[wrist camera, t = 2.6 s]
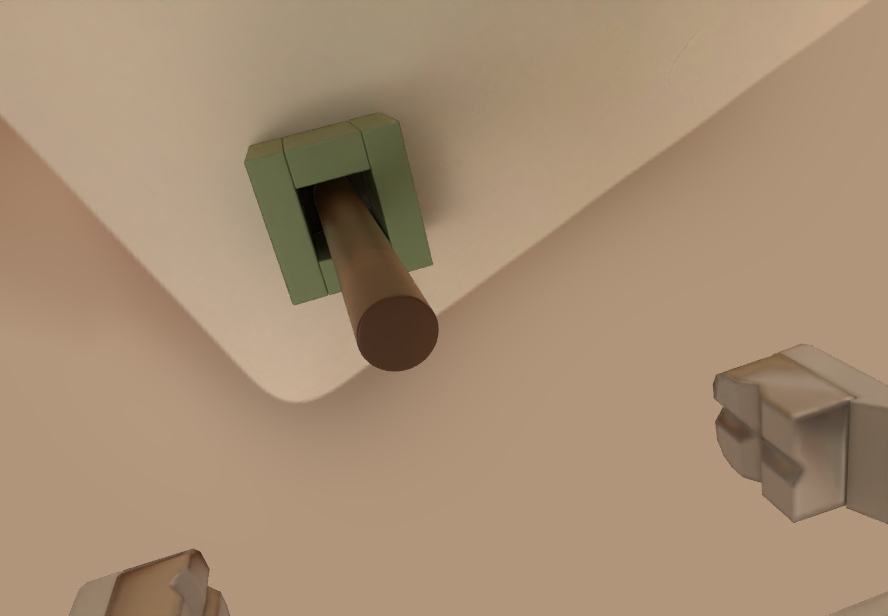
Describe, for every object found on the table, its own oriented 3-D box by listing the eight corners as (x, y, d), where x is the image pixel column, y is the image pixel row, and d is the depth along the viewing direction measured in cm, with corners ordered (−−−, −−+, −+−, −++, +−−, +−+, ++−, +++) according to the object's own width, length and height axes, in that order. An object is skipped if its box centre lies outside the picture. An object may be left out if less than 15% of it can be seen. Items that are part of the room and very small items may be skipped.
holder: (290, 272, 33) (293, 306, 28) (248, 146, 30) (243, 161, 26) (411, 237, 34) (433, 265, 29) (380, 112, 31) (398, 120, 27)
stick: (320, 218, 32) (369, 382, 16) (308, 179, 31) (346, 309, 15) (359, 208, 32) (447, 358, 16) (348, 169, 32) (428, 285, 15)
